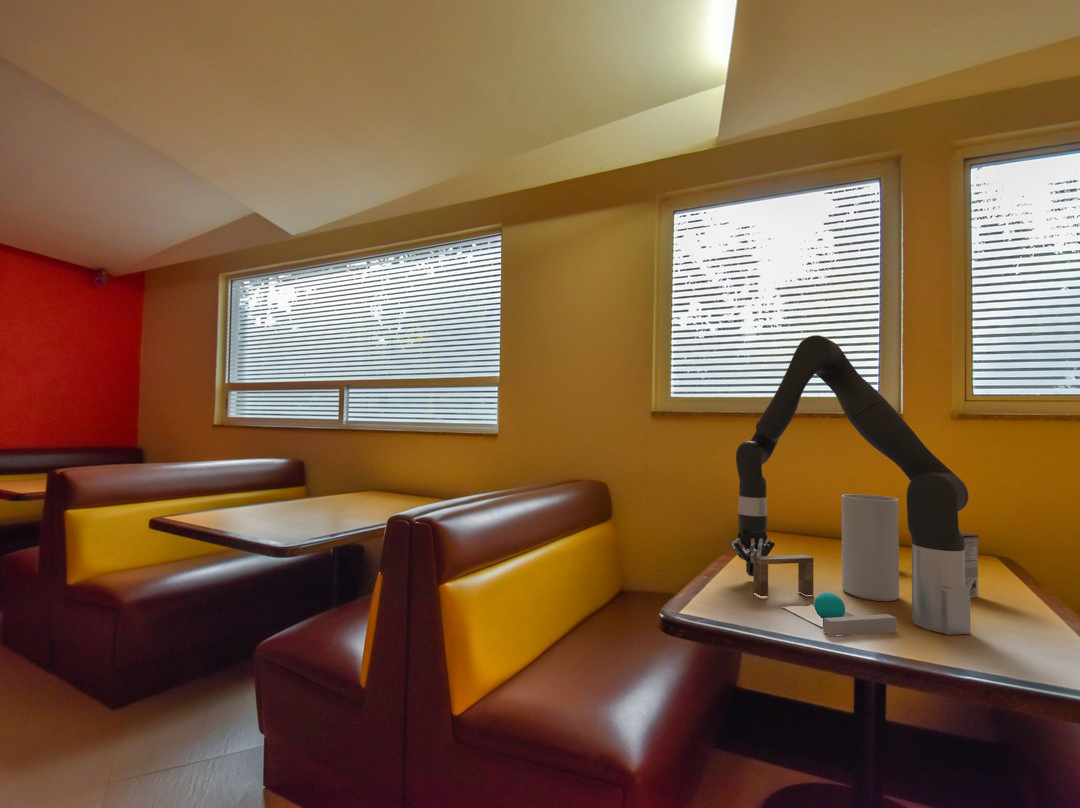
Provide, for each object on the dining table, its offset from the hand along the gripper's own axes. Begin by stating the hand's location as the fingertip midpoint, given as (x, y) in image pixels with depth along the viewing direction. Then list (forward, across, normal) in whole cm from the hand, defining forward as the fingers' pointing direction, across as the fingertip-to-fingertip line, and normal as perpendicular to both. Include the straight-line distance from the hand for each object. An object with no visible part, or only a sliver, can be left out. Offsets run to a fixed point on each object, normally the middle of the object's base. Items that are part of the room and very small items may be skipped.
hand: (752, 575), depth 145 cm
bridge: (+2, 0, -13) cm, 13 cm away
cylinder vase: (+2, +24, -15) cm, 28 cm away
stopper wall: (+2, 0, -37) cm, 37 cm away
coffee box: (+2, +48, -17) cm, 51 cm away
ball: (-2, -1, -30) cm, 30 cm away
